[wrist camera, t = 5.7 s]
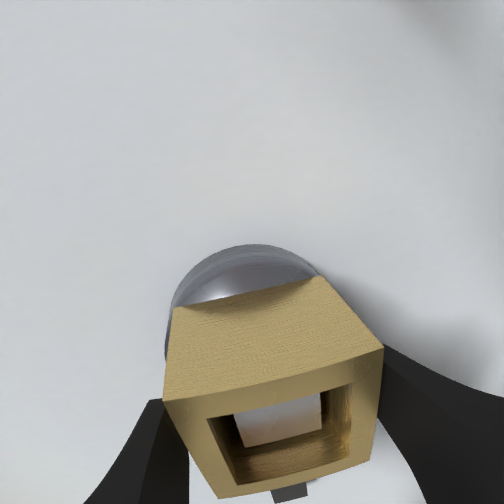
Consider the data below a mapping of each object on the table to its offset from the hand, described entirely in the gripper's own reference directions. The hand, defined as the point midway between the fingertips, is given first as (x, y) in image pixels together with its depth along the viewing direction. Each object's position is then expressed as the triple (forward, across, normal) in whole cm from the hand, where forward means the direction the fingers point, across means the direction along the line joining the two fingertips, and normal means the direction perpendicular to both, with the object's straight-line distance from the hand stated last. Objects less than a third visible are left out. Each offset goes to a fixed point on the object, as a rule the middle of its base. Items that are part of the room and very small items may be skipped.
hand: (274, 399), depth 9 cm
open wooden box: (+2, 0, 0) cm, 2 cm away
